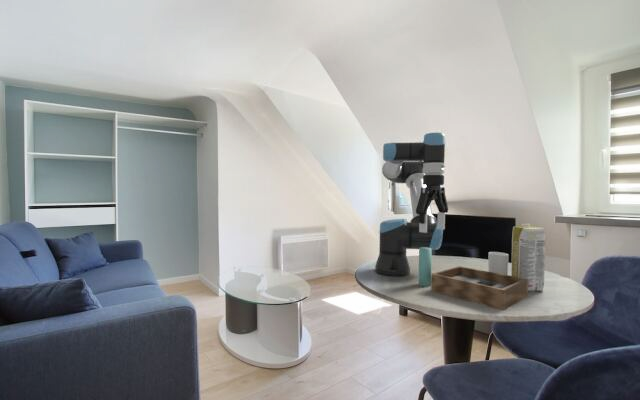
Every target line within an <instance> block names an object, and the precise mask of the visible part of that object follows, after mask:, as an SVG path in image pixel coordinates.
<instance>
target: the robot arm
mask: <svg viewBox="0 0 640 400" xmlns="http://www.w3.org/2000/svg"><path fill="white" fill-rule="evenodd" d="M445 137H446V136H445V134H444V133H443V132H428V133H425V134H424V136H423V142H387V143H384V144H383V146H382V159H383V161H384V163H383V165H382V168H381V170H382V171H381V172H382V175H383V176H384V178H385V179H386V180H388V181H390V182H391V183H395V184H405V185H406V187H407V188H408V189H409V195H410V203H411V211H412V212H411V213H412V218H411V219H410V222H408V220H407V218H396V219H395V218H394V219H387V220H383V221H381V222H380V223H379V232H378V233H379V252H378V257H377V259H376V260H377V261H376V262H375V266H374V267H375V268H374V272H375V273H377V274H379V275H384V276H389V277H390V276H391V277H402V276H403V277H404V276H405V277H406V276H409V275H410V274H411V267H410V263H409V260H408V257H407V250H419V248H420V247H427V248H432V250H439V249H440V248H441V246H442V243H443V234H444V230H445V229H446V225H445V224H446V213H448V211H449V206H448V201H447V197H446V189H445V187H443V185H444V184H445V176H444V173H445V168H446V165H445V156H446V155H445V154H446V153H445V151H446V149H445V148H446V146H445V145H446V138H445ZM441 186H442V187H441ZM432 201H434V204H435V205H436V208H437V210H438V212H437V218H436V216H434V215H433V212H432V204H431V203H432Z"/></svg>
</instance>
